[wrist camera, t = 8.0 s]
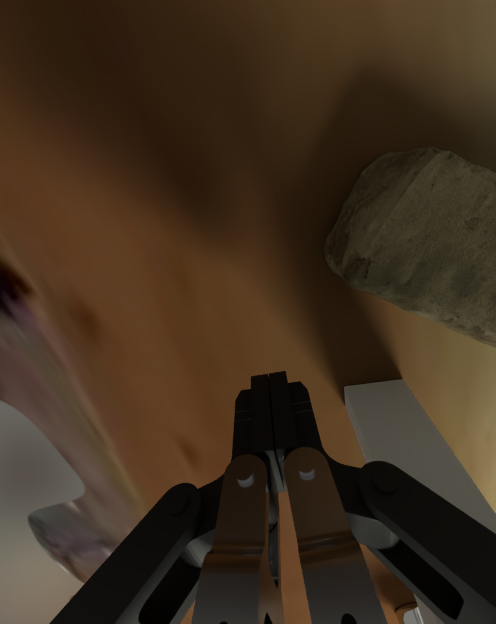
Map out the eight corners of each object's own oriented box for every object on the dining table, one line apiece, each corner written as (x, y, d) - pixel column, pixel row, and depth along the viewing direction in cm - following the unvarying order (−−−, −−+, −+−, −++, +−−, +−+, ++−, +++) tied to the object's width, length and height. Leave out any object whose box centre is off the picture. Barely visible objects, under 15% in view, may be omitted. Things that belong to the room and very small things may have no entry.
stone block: (477, 321, 17) (553, 374, 13) (310, 254, 16) (330, 288, 11) (556, 233, 15) (687, 261, 10) (366, 143, 13) (420, 129, 9)
